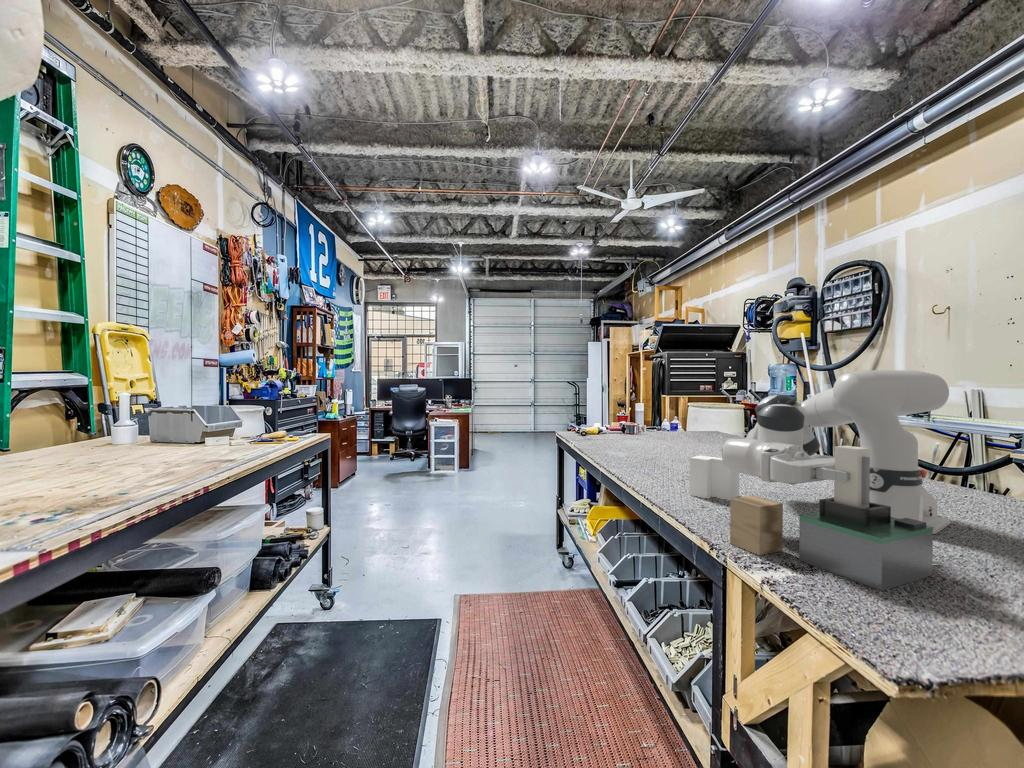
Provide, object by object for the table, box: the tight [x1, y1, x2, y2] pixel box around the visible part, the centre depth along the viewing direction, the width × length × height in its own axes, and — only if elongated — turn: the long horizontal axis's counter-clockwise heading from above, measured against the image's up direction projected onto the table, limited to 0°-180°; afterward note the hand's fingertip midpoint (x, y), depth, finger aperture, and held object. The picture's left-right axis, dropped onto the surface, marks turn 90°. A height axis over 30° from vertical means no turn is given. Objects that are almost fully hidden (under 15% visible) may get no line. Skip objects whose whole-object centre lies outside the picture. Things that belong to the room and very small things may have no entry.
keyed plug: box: [833, 445, 870, 509], centre depth 84 cm, size 4×5×12 cm
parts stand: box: [729, 494, 784, 557], centre depth 93 cm, size 7×7×10 cm
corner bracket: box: [689, 454, 741, 501], centre depth 135 cm, size 11×11×12 cm
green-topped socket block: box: [798, 496, 934, 592], centre depth 83 cm, size 16×14×12 cm
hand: (856, 476), depth 84 cm, fingers closed on keyed plug, 4 cm apart
